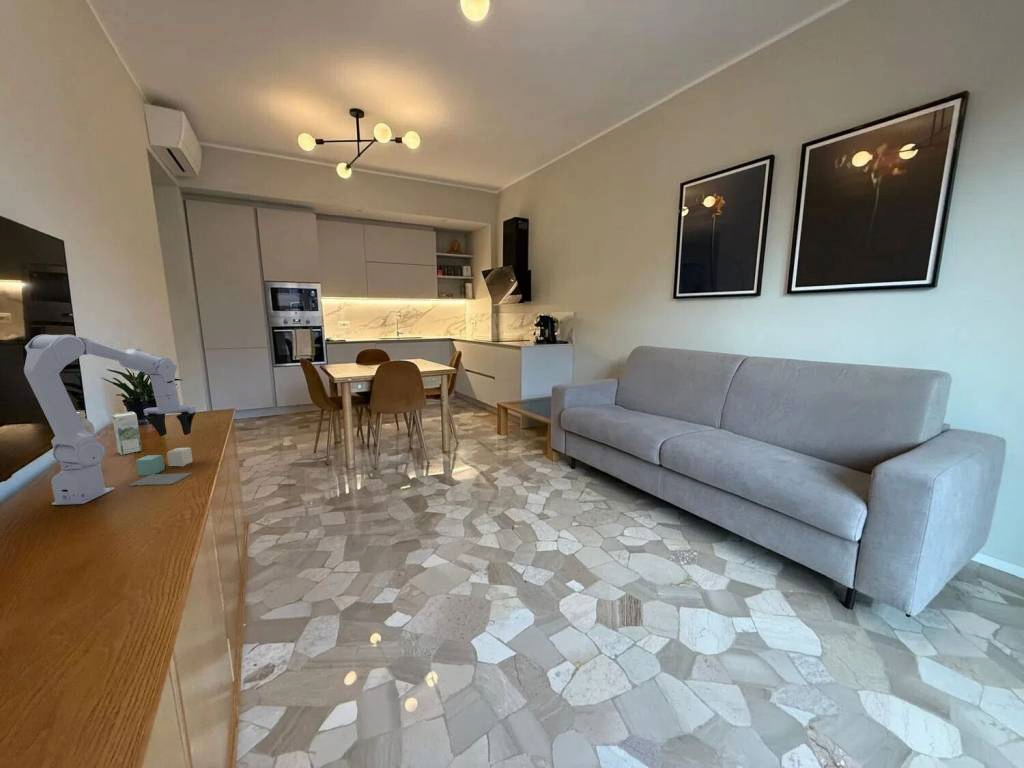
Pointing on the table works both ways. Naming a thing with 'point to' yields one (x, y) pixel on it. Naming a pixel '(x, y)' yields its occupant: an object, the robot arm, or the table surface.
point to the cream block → (179, 456)
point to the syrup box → (126, 432)
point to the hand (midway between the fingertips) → (175, 434)
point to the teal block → (150, 464)
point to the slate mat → (160, 479)
